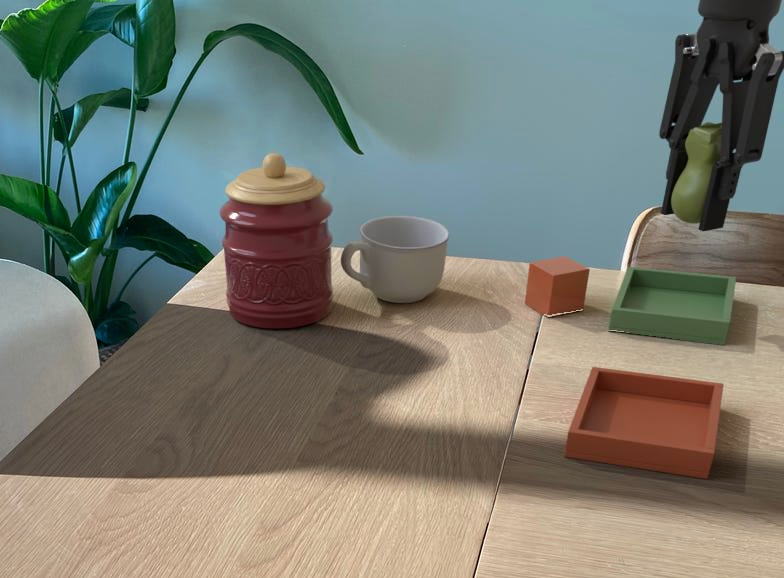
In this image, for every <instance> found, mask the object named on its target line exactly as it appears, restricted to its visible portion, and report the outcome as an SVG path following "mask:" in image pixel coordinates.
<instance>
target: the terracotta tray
mask: <svg viewBox="0 0 784 578" xmlns="http://www.w3.org/2000/svg"><path fill="white" fill-rule="evenodd" d="M723 390H724V383H721V382H714V381H707V380H700V379H699V380H698V379H693V378H692V379H691V378H683V377H674V376H667V375H660V374H652V373H643V372H636V371H630V370H629V371H627V370H622V369H621V370H620V369H613V368H605V367H597V366H592V367H591V369H590V372H589V375H588V377H587V380H586V383H585V385H584V388H583V391H582V394H581V395H580V399H579V401H578V404H577V407H576V409H575V412H574V415H573V418H572V420H571V423H570V426H569V428H568V431H567V435H566V436H567V437H566V443H565V447H564V448H565V449H564V455H563V457H565V458H569V459H577V460H583V461H589V462H595V463H602V464H608V465H614V466H620V467H621V466H622V467H627V468H633V469H634V468H635V469H640V470H646V471H653V472H660V473H666V474H673V475H678V476H685V477H690V478H691V477H692V478H697V479H703V480H708V479H709V474H710V472H711V471H710V470H711V467H712V464H713V461H714V456H715V451H716V444H717V437H718V429H719V422H720V414H721V408H722V407H721V406H722V398H723V392H724V391H723Z"/></svg>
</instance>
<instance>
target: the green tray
mask: <svg viewBox="0 0 784 578" xmlns="http://www.w3.org/2000/svg"><path fill="white" fill-rule="evenodd" d="M736 283H737V276H730V275H729V276H728V275H718V274H708V273H697V272H687V271H678V270H677V271H676V270H667V269H659V268H658V269H657V268H647V267H635V266H628V267H627V268H626V271H625V274H624V277H623V280H622V282H621V284H620V287H619V290H618V292H617V295H616V298H615V300H614V303H613V306H612V308H611V313H610V319H609V325H608V329H609V330H617V331H624V332H629V333H635V334H642V335H641V336H643V335H649V336H648V337H651V336H656V337H655V338H660V337H666V338H665V339H668V338H672V339H671V340H677V339H679V340H680V341H686V342H694V343H703V344H710V345H711V344H713V345H720V346H721V345H722V346H725V344H726V339H727V336H728V332H729V328H730V324H731V319H732V312H733V304H734V296H735V290H736ZM657 336H659V337H657ZM679 340H678V341H679Z"/></svg>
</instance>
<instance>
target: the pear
mask: <svg viewBox="0 0 784 578" xmlns="http://www.w3.org/2000/svg"><path fill="white" fill-rule="evenodd" d="M721 133H722V122H717V123H715V122H711V121H708V122H705V123H703V124H701V126H700V127H695V128H694V129H692V130H690V132H689V135H688V137H687V139H686V142H685V147H686V151H687V154H688V162H687V165H686V167H685V169H684V170H683V172H682V174H681V175H680V177H679V179H678V181H677V183H676V185H675V187H674V190H673V193H672V198H671V205H672V209H673V212H674V214H673V215H675V217H676V218H678V220H679V221H682V222H684V223H687V224H693V225H694V224H695V225H696V224H700V220H701V216H702V211H703V207H704V203H705V198H706V194H707V189H708V185H709V181H710V176H711V172H712V168H713V165H715V162H718V161H720V156H721Z"/></svg>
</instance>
